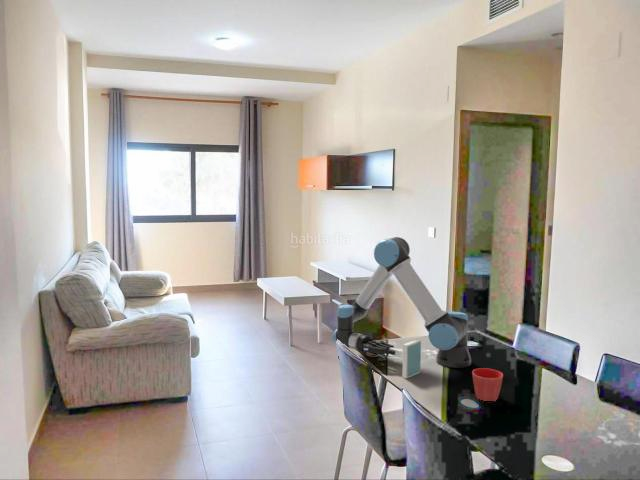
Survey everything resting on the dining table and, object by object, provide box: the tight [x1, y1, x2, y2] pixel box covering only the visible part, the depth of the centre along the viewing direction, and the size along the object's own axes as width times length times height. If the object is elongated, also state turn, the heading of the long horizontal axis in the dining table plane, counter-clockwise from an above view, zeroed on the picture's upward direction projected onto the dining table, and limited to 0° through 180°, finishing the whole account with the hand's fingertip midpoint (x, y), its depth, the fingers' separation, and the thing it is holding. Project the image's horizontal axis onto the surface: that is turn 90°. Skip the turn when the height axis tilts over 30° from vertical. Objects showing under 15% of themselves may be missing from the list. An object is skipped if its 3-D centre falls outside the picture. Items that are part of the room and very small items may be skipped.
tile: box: [401, 339, 422, 380], centre depth 213 cm, size 10×2×14 cm, turn 134°
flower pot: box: [471, 367, 504, 402], centre depth 188 cm, size 11×11×10 cm
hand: (402, 354), depth 216 cm, fingers closed
